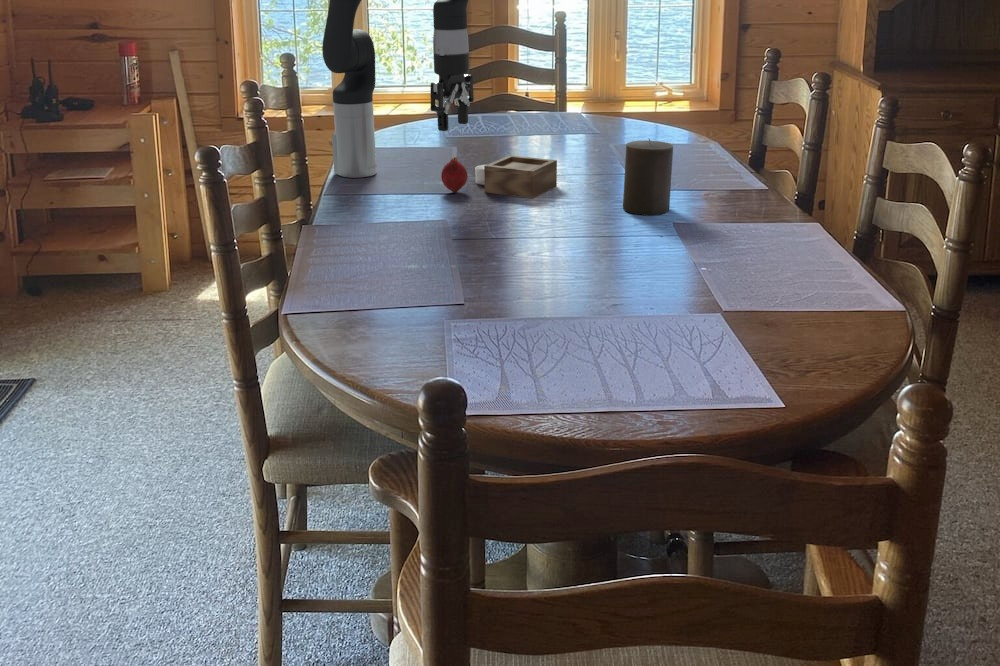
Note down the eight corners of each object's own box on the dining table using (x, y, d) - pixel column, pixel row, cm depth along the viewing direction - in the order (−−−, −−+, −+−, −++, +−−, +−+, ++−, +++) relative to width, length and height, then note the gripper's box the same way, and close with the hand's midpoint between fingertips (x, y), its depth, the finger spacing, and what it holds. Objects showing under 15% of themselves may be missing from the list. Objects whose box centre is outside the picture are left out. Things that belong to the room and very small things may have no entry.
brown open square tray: (484, 192, 236) (484, 165, 234) (509, 180, 246) (509, 155, 244) (532, 198, 231) (533, 171, 229) (556, 186, 241) (556, 160, 239)
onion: (464, 196, 233) (463, 160, 230) (438, 195, 234) (437, 159, 231) (470, 189, 239) (469, 154, 236) (445, 188, 240) (444, 153, 237)
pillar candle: (640, 217, 216) (644, 144, 210) (613, 206, 224) (617, 136, 218) (679, 212, 220) (684, 140, 214) (651, 201, 228) (655, 131, 222)
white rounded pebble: (470, 183, 244) (470, 168, 243) (483, 178, 249) (483, 163, 248) (493, 186, 242) (493, 171, 240) (506, 181, 247) (505, 166, 245)
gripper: (452, 46, 233) (455, 120, 239) (418, 53, 221) (421, 131, 227) (482, 47, 229) (484, 122, 235) (449, 55, 218) (451, 134, 224)
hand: (453, 127), depth 231 cm, fingers open, 8 cm apart
